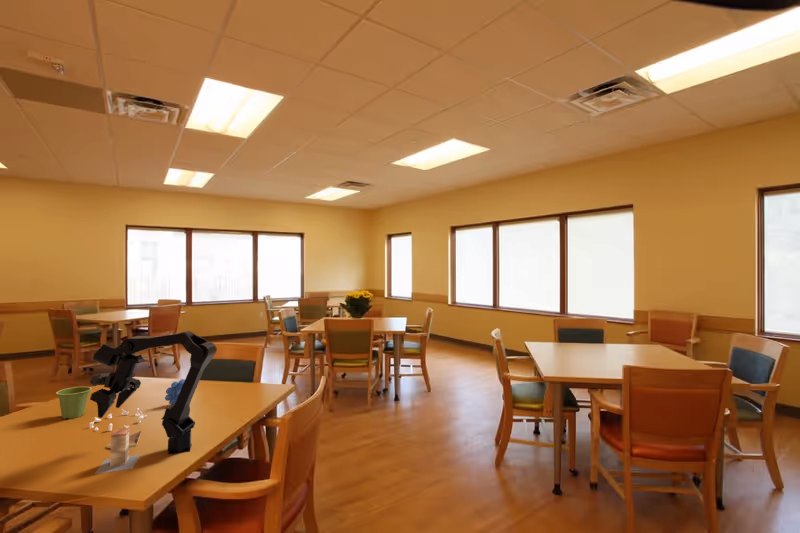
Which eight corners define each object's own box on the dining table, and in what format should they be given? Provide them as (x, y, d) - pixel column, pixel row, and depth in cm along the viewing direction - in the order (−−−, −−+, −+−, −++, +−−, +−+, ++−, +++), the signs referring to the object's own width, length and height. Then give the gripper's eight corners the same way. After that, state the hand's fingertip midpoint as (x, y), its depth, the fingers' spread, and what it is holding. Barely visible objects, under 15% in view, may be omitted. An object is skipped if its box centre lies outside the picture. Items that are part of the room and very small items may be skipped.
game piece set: (157, 417, 167) (157, 408, 167) (111, 435, 148) (112, 425, 148) (123, 412, 172) (123, 404, 172) (75, 429, 153) (75, 420, 153)
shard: (140, 435, 148) (141, 429, 148) (157, 439, 145) (158, 433, 145) (104, 449, 136) (104, 443, 136) (122, 454, 133) (122, 448, 133)
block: (128, 458, 128) (129, 428, 128) (125, 464, 124) (126, 433, 124) (114, 460, 126) (115, 430, 127) (110, 466, 123) (111, 435, 123)
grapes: (193, 400, 189) (193, 376, 189) (192, 404, 183) (192, 379, 183) (165, 403, 184) (166, 378, 184) (163, 407, 178) (164, 382, 178)
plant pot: (70, 422, 159) (71, 395, 159) (47, 419, 161) (48, 393, 162) (97, 412, 171) (98, 387, 171) (76, 410, 173) (77, 385, 173)
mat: (140, 455, 131) (140, 454, 131) (132, 469, 122) (132, 468, 122) (105, 460, 127) (105, 459, 127) (94, 475, 118) (94, 474, 118)
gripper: (118, 357, 144) (104, 396, 144) (82, 370, 126) (65, 416, 125) (147, 366, 145) (133, 405, 145) (115, 381, 127) (99, 426, 126)
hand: (108, 412), depth 135 cm, fingers open, 9 cm apart
